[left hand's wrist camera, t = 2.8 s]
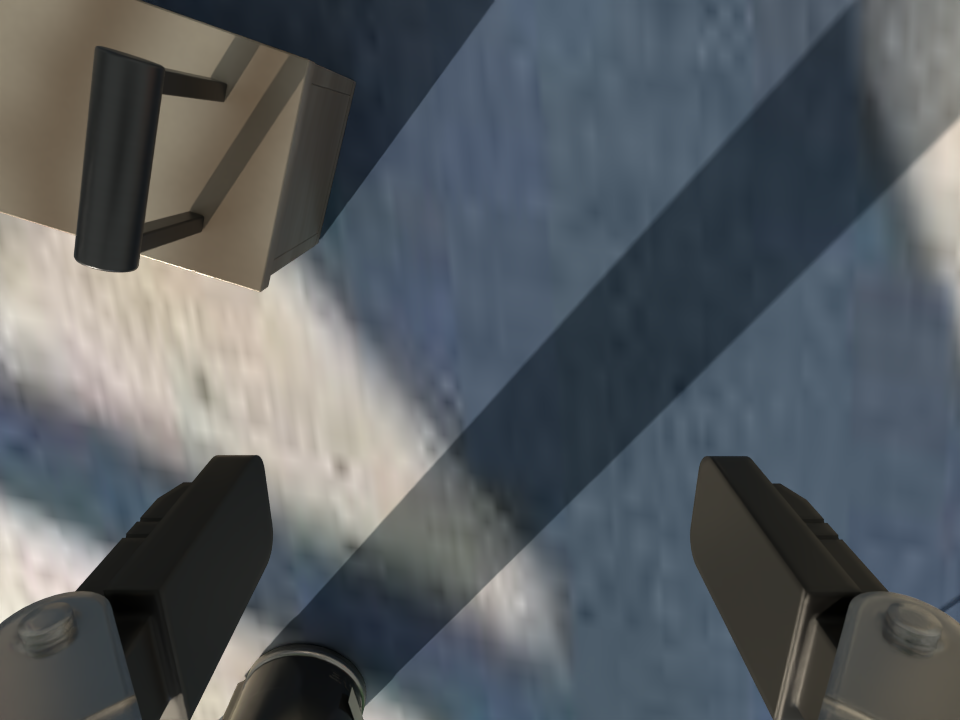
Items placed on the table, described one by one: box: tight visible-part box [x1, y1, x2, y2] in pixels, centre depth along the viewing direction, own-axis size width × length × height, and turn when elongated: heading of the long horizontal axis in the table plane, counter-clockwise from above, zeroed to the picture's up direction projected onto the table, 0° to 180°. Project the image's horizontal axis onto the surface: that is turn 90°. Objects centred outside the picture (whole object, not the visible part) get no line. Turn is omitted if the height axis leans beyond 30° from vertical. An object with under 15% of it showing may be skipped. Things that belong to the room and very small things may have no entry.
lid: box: [0, 0, 315, 292], centre depth 20 cm, size 16×9×8 cm, turn 72°
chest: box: [271, 64, 356, 275], centre depth 29 cm, size 15×9×10 cm, turn 72°
